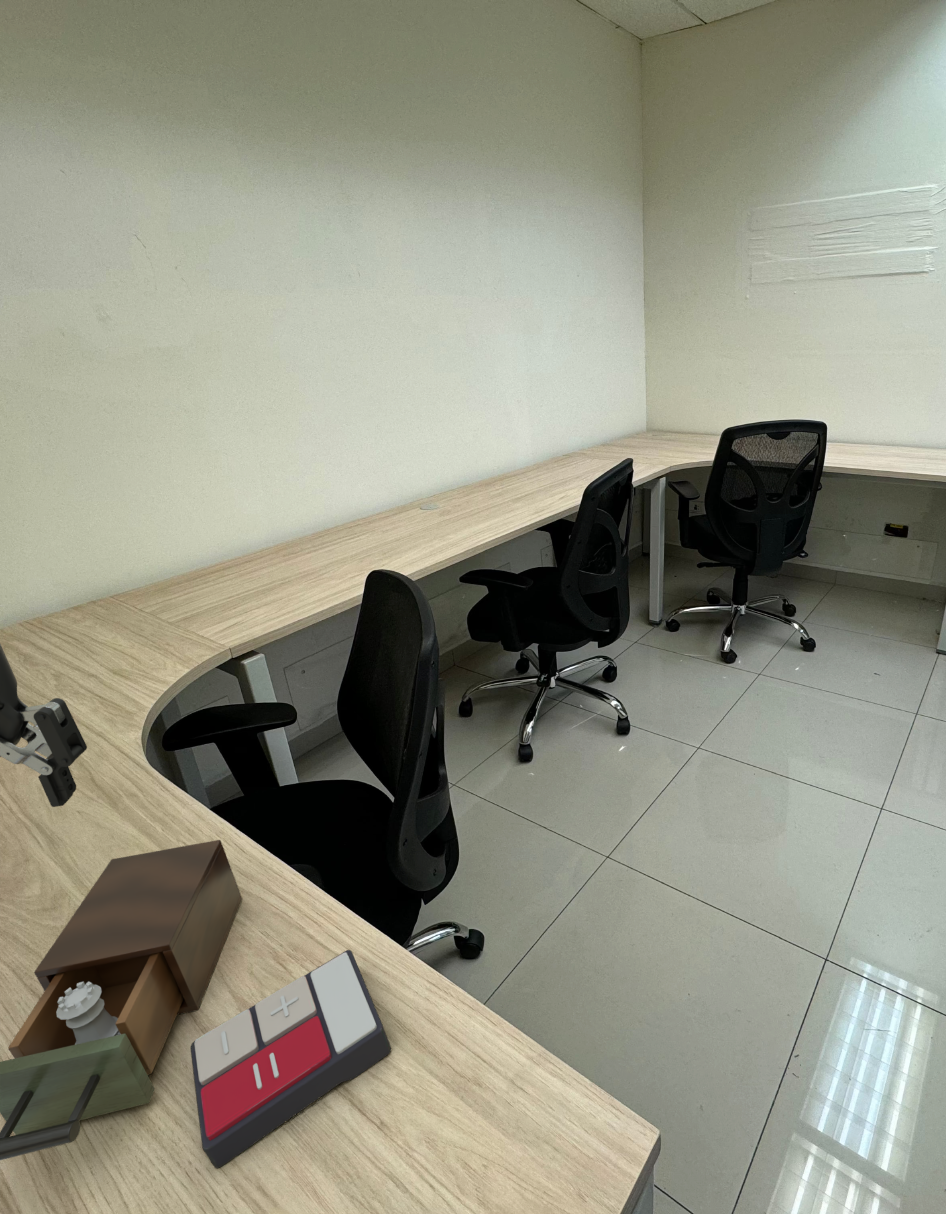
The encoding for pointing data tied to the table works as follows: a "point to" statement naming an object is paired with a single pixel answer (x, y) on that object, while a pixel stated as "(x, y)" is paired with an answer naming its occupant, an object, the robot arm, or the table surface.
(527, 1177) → the table surface
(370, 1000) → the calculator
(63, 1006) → the rook chess piece
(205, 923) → the cabinet
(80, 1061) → the drawer
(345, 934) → the table surface
